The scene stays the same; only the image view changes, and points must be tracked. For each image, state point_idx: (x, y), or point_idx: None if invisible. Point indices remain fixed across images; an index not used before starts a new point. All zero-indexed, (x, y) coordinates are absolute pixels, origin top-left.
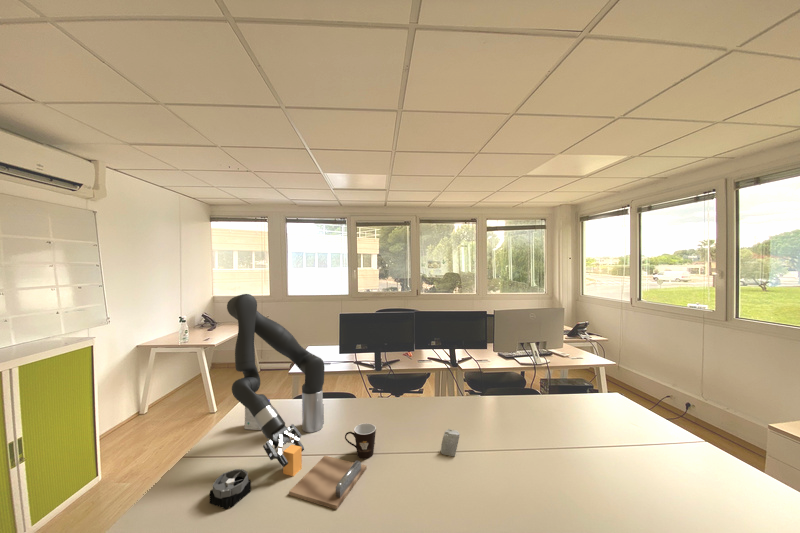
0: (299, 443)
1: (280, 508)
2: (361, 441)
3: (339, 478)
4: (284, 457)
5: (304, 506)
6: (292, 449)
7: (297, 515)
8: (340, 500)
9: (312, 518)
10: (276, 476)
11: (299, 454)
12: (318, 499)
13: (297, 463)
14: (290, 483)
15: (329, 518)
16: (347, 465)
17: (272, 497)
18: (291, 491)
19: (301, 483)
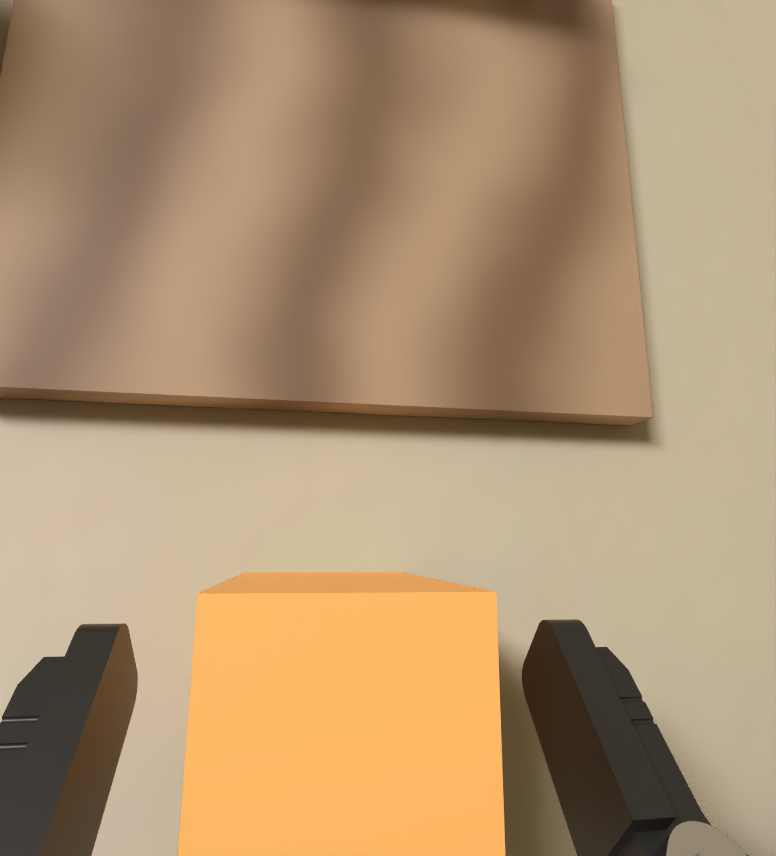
0: (42, 781)
1: (765, 396)
2: None
3: (320, 43)
4: (603, 725)
5: (666, 223)
6: (366, 740)
7: (750, 226)
8: None
9: (721, 114)
10: None
11: (283, 585)
12: (617, 110)
13: (334, 578)
14: (504, 524)
15: (670, 10)
16: (93, 32)
17: (715, 561)
18: (645, 392)
19: (521, 363)
